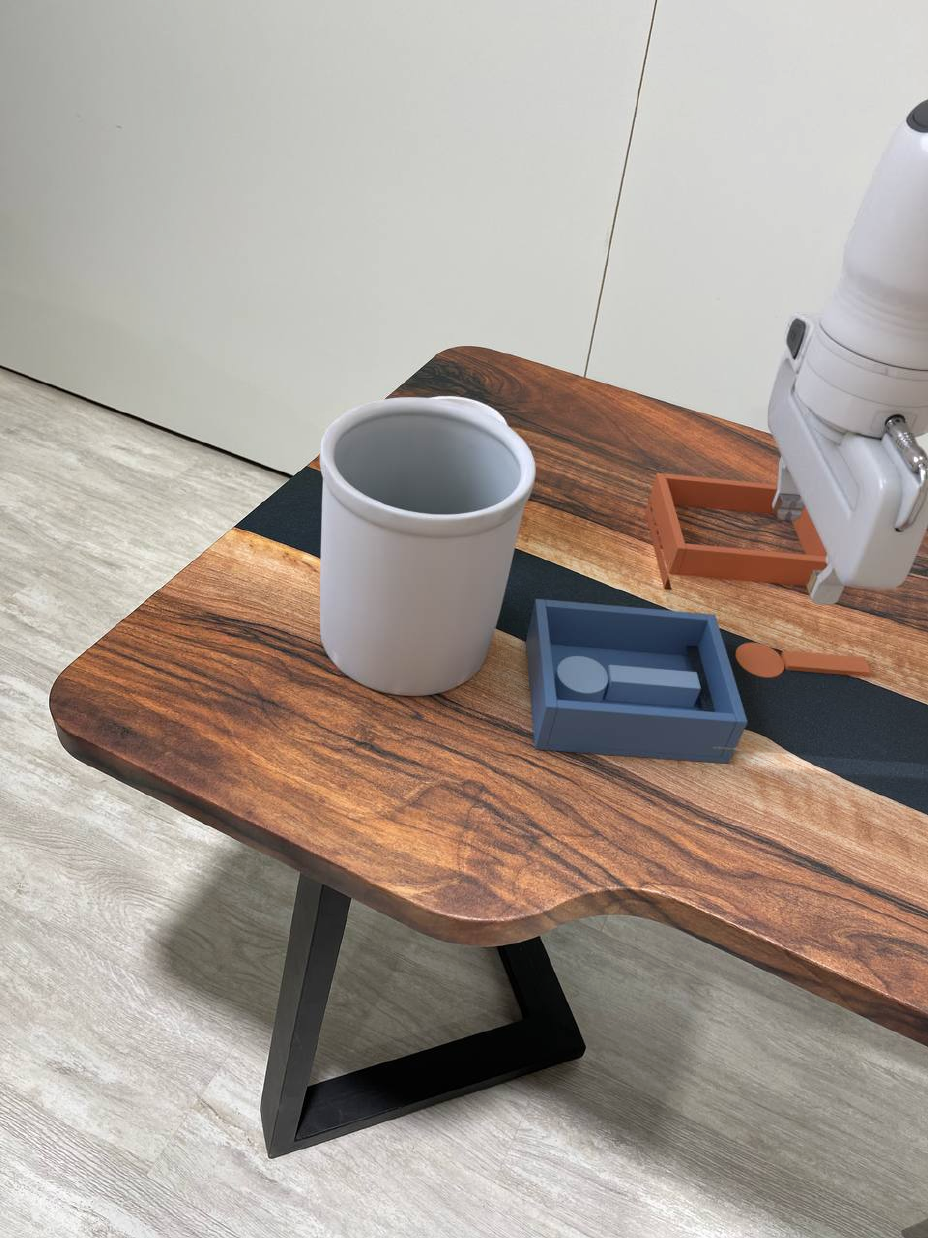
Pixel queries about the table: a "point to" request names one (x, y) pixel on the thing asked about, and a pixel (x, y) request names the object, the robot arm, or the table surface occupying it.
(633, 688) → the spoon blue
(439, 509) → the utensil holder
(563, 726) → the bin blue
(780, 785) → the table surface
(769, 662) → the spoon terracotta
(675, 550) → the bin terracotta
